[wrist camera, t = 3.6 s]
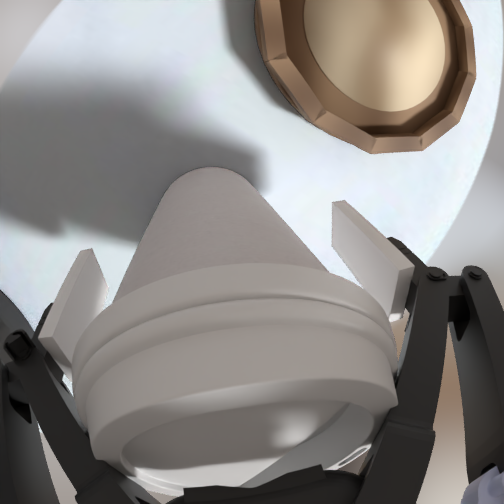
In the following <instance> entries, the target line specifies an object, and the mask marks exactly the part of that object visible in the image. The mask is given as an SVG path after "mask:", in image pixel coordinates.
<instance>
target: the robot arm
mask: <svg viewBox="0 0 504 504" xmlns="http://www.w3.org/2000/svg"><path fill="white" fill-rule="evenodd" d="M332 247H333V248H334V250H335V251H336V252H337V254H338V255H339V256H340V258H341V259H342V260H343V262H344V263H345V264H346V266H347V267H348V268H349V270H350V271H351V272H352V274H353V275H354V276H355V278H356V279H357V280H358V282H359V283H360V284H361V286H362V287H363V289H364V290H365V291H367V292H368V293H369V294H370V295H372V296H373V297H374V298H375V299H376V300H377V301H378V303H379V304H380V305H381V307H382V308H383V309H384V311H385V313H386V315H387V317H388V319H389V322H392V321H395V320H398V319H401V318H403V314H404V310H405V308H406V309H407V310H408V312H409V313H410V315H409V318H408V322H407V325H406V328H405V336H404V341H403V345H402V349H401V353H400V357H399V361H398V372H397V378H396V381H395V384H394V385H395V389H396V394H397V399H398V405H397V406H395V407H392V408H390V410H389V412H388V414H387V416H386V418H385V420H384V422H383V424H382V426H381V428H380V430H379V431H378V433H377V435H376V437H375V439H374V440H373V442H372V444H371V447H370V449H369V451H368V454H367V456H366V458H365V460H364V462H363V464H362V466H361V468H360V470H359V473H358V475H356V474H354V473H350V472H346V471H340V470H323V468H322V465H321V464H319V465H316V466H312V467H308V468H305V469H301V470H297V471H293V472H288V473H286V474H284V475H282V476H280V477H278V478H275V479H273V480H271V481H269V482H267V483H264V484H262V485H260V486H257V487H254V488H244V487H230V486H220V485H213V486H203V487H190V488H183V491H184V495H182V496H179V497H177V498H175V499H173V500H171V501H169V502H167V503H166V504H416V501H417V498H418V495H419V493H420V490H421V487H422V483H423V480H424V477H425V474H426V471H427V468H428V464H429V461H430V457H431V453H432V450H433V446H434V441H435V431H433V423H434V418H435V413H436V408H437V403H438V398H439V392H440V386H441V380H442V373H443V366H444V358H445V349H446V339H447V326H448V324H449V328H450V333H451V337H452V342H453V347H454V352H455V358H456V363H457V369H458V375H459V382H460V389H461V397H462V406H463V416H464V428H465V444H466V466H467V475H468V481H469V486H468V487H467V488H466V490H465V492H464V495H463V499H462V500H461V504H504V311H503V308H502V306H501V303H500V301H499V299H498V297H497V294H496V292H495V290H494V288H493V285H492V283H491V281H490V279H489V277H488V275H487V273H486V272H485V271H484V270H482V269H481V268H479V267H477V266H466V267H464V269H463V270H462V274H461V276H448V274H447V273H446V272H445V271H443V270H442V269H440V268H437V267H427V266H426V265H425V264H424V263H423V262H422V261H421V260H420V259H419V258H418V257H417V256H416V255H415V254H414V253H412V251H411V250H409V249H408V248H407V247H406V246H405V245H404V244H403V243H402V242H401V241H399V240H397V239H395V238H393V237H389V238H386V237H385V236H384V235H383V234H382V233H380V232H379V231H378V230H377V229H376V228H375V227H374V226H373V225H372V224H371V223H370V222H369V221H367V220H366V219H365V218H364V217H363V216H362V215H361V214H360V213H359V212H357V211H356V210H355V209H354V208H353V207H352V206H351V205H350V204H348V203H347V202H346V201H345V200H343V201H336V202H332ZM108 291H109V287H108V285H107V283H106V280H105V278H104V276H103V273H102V271H101V269H100V266H99V264H98V262H97V259H96V257H95V254H94V252H93V249H92V248H91V249H86V250H82V251H80V252H79V254H78V256H77V258H76V260H75V262H74V263H73V265H72V267H71V269H70V271H69V273H68V275H67V277H66V279H65V281H64V283H63V284H62V286H61V288H60V290H59V293H58V295H57V297H56V299H55V301H54V303H51V304H50V305H49V306H48V307H47V308H46V309H45V310H44V313H43V315H42V317H41V319H40V321H39V323H38V326H37V328H36V330H35V332H34V331H33V329H32V327H31V326H30V324H29V323H28V321H27V320H26V319H25V317H24V316H23V315H22V313H21V312H20V311H19V310H18V309H17V307H16V306H15V305H14V304H13V303H12V302H11V301H10V300H9V299H8V298H7V297H6V296H5V295H4V294H3V293H2V292H1V291H0V504H60V503H59V500H58V497H57V494H56V492H55V489H54V485H53V483H52V479H51V476H50V472H49V469H48V466H47V462H46V458H45V454H44V451H43V446H42V442H41V437H40V432H39V428H38V423H39V425H40V428H41V430H42V432H43V434H44V435H45V438H46V440H47V441H48V443H49V445H50V447H51V449H52V451H53V452H54V454H55V456H56V458H57V460H58V461H59V463H60V465H61V467H62V468H63V470H64V472H65V473H66V475H67V477H68V478H69V480H70V481H71V483H72V485H73V486H74V488H75V489H76V491H77V494H76V496H75V499H76V501H77V503H78V504H161V503H160V502H158V501H157V500H156V499H155V498H153V497H152V496H151V495H150V494H149V493H148V492H147V491H146V490H145V489H144V488H143V487H142V486H140V485H139V484H137V483H136V482H134V481H133V480H131V479H130V478H128V477H127V476H125V475H124V474H122V473H121V472H119V471H118V470H117V469H115V468H114V467H112V466H111V465H110V464H108V463H107V462H105V461H104V460H97V459H96V458H95V457H94V454H93V452H92V448H91V443H90V437H89V432H88V431H87V429H86V428H85V426H84V425H83V423H82V421H81V419H80V417H79V414H78V411H77V408H76V403H75V399H74V397H73V396H72V394H71V393H70V391H69V389H68V388H67V386H66V384H65V383H64V382H63V381H62V378H63V375H64V374H65V375H66V377H67V378H68V379H69V380H70V382H72V358H73V354H74V350H75V347H76V345H77V342H78V340H79V338H80V337H81V335H82V333H83V332H84V330H85V329H86V328H87V326H88V325H89V324H90V323H91V322H92V321H93V320H94V319H95V318H96V317H97V316H98V315H99V314H100V313H101V312H102V310H103V307H104V304H105V300H106V297H107V294H108ZM37 421H38V422H37Z"/></svg>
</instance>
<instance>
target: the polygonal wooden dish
mask: <svg viewBox="0 0 504 504" xmlns="http://www.w3.org/2000/svg"><path fill="white" fill-rule="evenodd" d="M254 24H255V33H256V38H257V43H258V47H259V50H260V53H261V56H262V58H263V61H264V64H265V66H266V68H267V70H268V72H269V74H270V76H271V78H272V79H273V81H274V82H275V84H276V85H277V87H278V88H279V90H280V92H281V93H282V94H283V95H284V97H285V98H286V99H287V100H288V101H289V103H290V104H291V105H292V106H293V107H294V108H295V109H296V110H297V111H298V112H299V113H300V114H301V115H302V116H303V117H304V118H305V119H306V120H307V121H308V122H310V123H312V124H314V125H315V126H316V127H318V128H319V129H321V130H323V131H325V132H326V133H328V134H330V135H332V136H334V137H336V138H338V139H341V140H343V141H345V142H347V143H350V144H352V145H354V146H356V147H358V148H360V149H361V150H363V151H365V152H368V153H370V154H378V153H393V152H411V151H423V150H424V149H426V148H427V147H428V146H429V145H431V144H432V143H433V142H435V141H436V140H437V139H438V138H440V137H441V136H442V135H444V134H445V133H446V132H447V131H449V130H450V129H451V128H452V127H454V126H455V125H456V124H458V123H459V121H460V119H461V116H462V114H463V111H464V109H465V106H466V104H467V101H468V99H469V96H470V94H471V91H472V88H473V85H474V83H475V80H476V61H475V48H474V38H473V29H472V25H471V22H470V20H469V18H468V16H467V14H466V12H465V10H464V8H463V6H462V4H461V2H460V0H255V8H254Z"/></svg>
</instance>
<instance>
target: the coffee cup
mask: <svg viewBox="0 0 504 504" xmlns="http://www.w3.org/2000/svg"><path fill="white" fill-rule="evenodd" d="M397 372H398V358H397V348H396V342H395V338H394V335H393V332H392V328H391V325H390V322H389V319H388V317H387V315H386V313H385V311H384V309H383V308H382V307H381V305H380V304H379V303H378V301H377V300H376V299H375V298H374V297H373V296H372V295H370V294H369V293H368V292H367V291H365V290H364V289H363V288H361V287H360V286H358V285H356V284H355V283H353V282H351V281H349V280H347V279H345V278H342V277H340V276H337V275H335V274H332V273H329V271H328V270H327V269H326V268H325V267H324V266H323V265H322V263H321V262H320V261H319V260H318V259H317V258H316V257H315V255H314V254H313V253H312V252H311V251H310V250H309V249H308V247H307V246H306V245H305V244H304V243H303V242H302V241H301V239H300V238H299V237H298V236H297V235H296V234H295V233H294V231H293V230H292V229H291V228H290V227H289V226H288V225H287V224H286V222H285V221H284V220H283V219H282V218H281V217H280V216H279V215H278V213H277V212H276V211H275V210H274V209H273V208H272V207H271V206H270V205H269V203H268V202H267V201H266V200H265V199H264V198H263V197H262V196H261V195H260V193H259V192H258V191H257V190H256V189H255V188H254V187H253V186H252V185H251V184H250V183H249V182H248V181H247V180H246V179H245V178H244V177H242V176H241V175H239V174H238V173H236V172H234V171H231V170H228V169H225V168H220V167H204V168H198V169H195V170H192V171H189V172H187V173H185V174H184V175H182V176H180V177H179V178H178V179H176V180H175V181H174V182H173V183H172V184H171V185H170V186H169V188H168V189H167V190H166V192H165V194H164V195H163V197H162V199H161V201H160V203H159V205H158V207H157V209H156V211H155V213H154V215H153V217H152V219H151V221H150V223H149V225H148V227H147V229H146V231H145V233H144V235H143V237H142V239H141V241H140V243H139V245H138V247H137V249H136V251H135V254H134V256H133V258H132V260H131V262H130V264H129V267H128V269H127V271H126V273H125V275H124V278H123V280H122V282H121V284H120V287H119V289H118V291H117V293H116V296H115V298H114V300H113V303H112V304H111V305H110V306H108V307H107V308H106V309H105V310H103V311H102V312H101V313H100V314H99V315H98V316H97V317H96V318H95V319H94V320H93V321H92V322H91V323H90V324H89V325H88V326H87V328H86V329H85V330H84V332H83V333H82V335H81V337H80V338H79V340H78V342H77V345H76V347H75V350H74V354H73V358H72V387H73V395H74V399H75V403H76V408H77V411H78V414H79V417H80V419H81V421H82V423H83V425H84V426H85V428H86V429H87V431H88V432H89V437H90V443H91V448H92V452H93V454H94V457H95V458H96V459H97V460H104V461H105V462H107V463H108V464H110V465H111V466H112V467H114V468H115V469H117V470H118V471H119V472H121V473H122V474H124V475H125V476H127V477H128V478H130V479H131V480H133V481H134V482H136V483H137V484H139V485H140V486H142V487H143V488H144V489H146V490H149V491H154V492H157V493H162V494H167V495H173V496H182V495H184V491H183V488H190V487H203V486H213V485H220V486H230V487H244V488H254V487H257V486H260V485H262V484H264V483H267V482H269V481H271V480H273V479H275V478H278V477H280V476H282V475H284V474H286V473H288V472H293V471H297V470H301V469H305V468H308V467H312V466H316V465H319V464H321V465H322V468H323V470H336V469H338V468H340V467H342V466H344V465H345V464H347V463H349V462H351V461H352V460H354V459H355V458H357V457H358V456H360V455H361V454H363V453H364V452H365V451H367V450H368V449H369V448H370V447H371V444H372V442H373V440H374V439H375V437H376V435H377V433H378V431H379V430H380V428H381V426H382V424H383V422H384V420H385V418H386V416H387V414H388V412H389V410H390V408H392V407H395V406H397V405H398V399H397V394H396V389H395V385H394V384H395V381H396V378H397Z"/></svg>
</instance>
